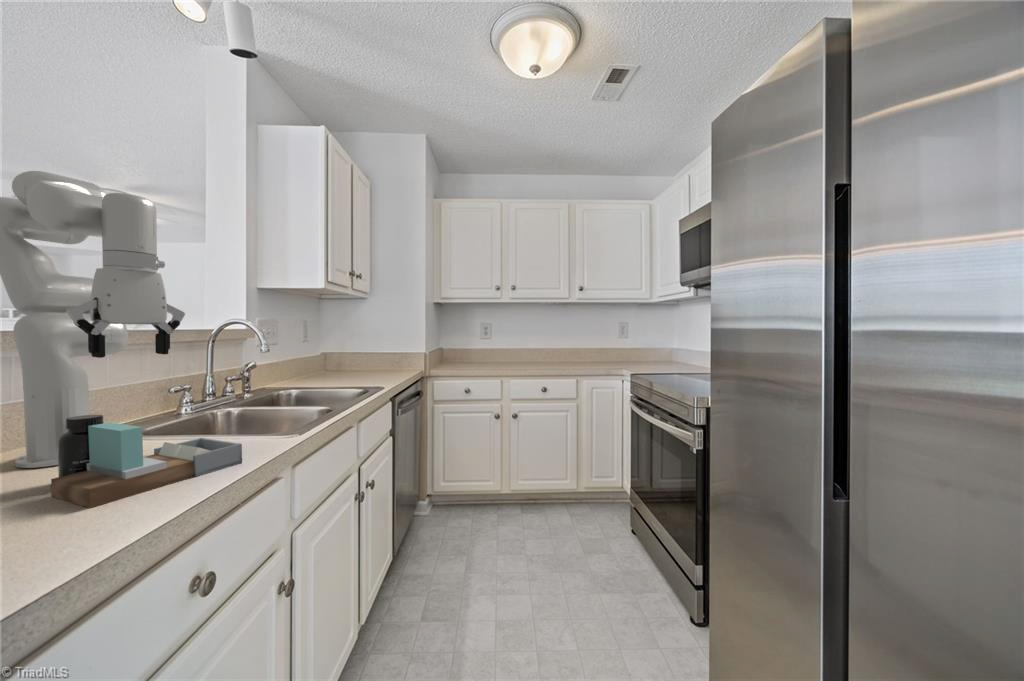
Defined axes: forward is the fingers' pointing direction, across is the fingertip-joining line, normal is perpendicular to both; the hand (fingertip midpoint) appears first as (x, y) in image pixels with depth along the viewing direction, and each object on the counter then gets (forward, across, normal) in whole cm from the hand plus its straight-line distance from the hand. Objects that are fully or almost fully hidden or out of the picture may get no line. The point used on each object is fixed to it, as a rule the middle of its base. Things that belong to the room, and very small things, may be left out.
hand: (131, 355), depth 79 cm
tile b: (+21, -7, +8) cm, 23 cm away
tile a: (+21, -6, +2) cm, 22 cm away
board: (+23, +3, +5) cm, 24 cm away
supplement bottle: (+24, +5, -5) cm, 24 cm away
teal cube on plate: (+20, +3, +5) cm, 21 cm away
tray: (+23, -9, +5) cm, 25 cm away
